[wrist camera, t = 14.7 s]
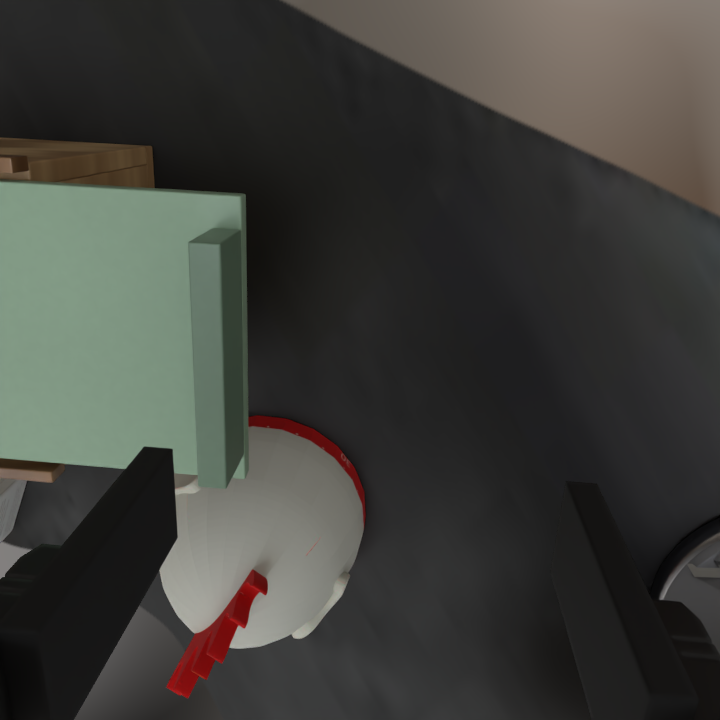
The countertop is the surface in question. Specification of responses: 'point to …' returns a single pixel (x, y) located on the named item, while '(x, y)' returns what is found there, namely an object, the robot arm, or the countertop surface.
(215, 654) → the white toy chicken
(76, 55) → the countertop surface
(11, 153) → the case
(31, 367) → the lid
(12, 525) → the small box
